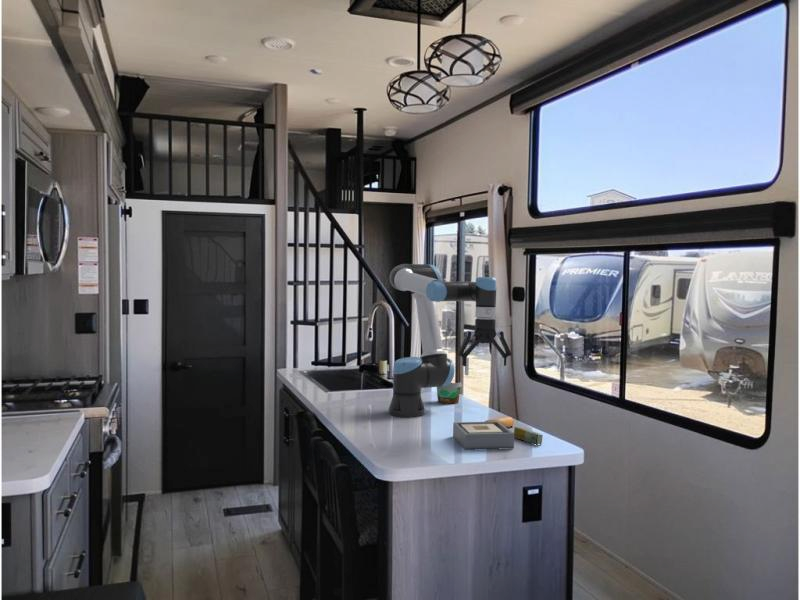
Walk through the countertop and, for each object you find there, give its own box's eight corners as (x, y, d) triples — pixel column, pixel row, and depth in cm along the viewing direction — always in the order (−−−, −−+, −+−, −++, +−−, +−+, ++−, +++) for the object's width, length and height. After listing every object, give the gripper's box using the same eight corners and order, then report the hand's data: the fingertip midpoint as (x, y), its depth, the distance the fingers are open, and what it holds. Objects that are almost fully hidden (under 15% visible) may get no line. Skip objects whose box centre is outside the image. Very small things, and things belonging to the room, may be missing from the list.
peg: (482, 422, 244) (505, 418, 251) (485, 432, 243) (508, 428, 249) (488, 419, 241) (511, 415, 248) (492, 429, 240) (515, 425, 246)
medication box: (542, 445, 223) (543, 434, 223) (536, 446, 221) (538, 434, 221) (518, 437, 233) (519, 426, 233) (512, 437, 231) (513, 426, 231)
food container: (432, 404, 287) (432, 382, 287) (434, 401, 293) (435, 380, 292) (459, 406, 284) (460, 384, 284) (461, 403, 290) (462, 381, 290)
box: (452, 437, 231) (453, 422, 231) (498, 436, 234) (498, 421, 233) (465, 450, 214) (465, 434, 214) (513, 449, 217) (514, 433, 217)
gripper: (455, 318, 233) (454, 376, 234) (520, 319, 237) (519, 376, 238) (450, 317, 240) (449, 373, 241) (514, 317, 244) (512, 372, 245)
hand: (484, 374), depth 239 cm, fingers open, 13 cm apart
